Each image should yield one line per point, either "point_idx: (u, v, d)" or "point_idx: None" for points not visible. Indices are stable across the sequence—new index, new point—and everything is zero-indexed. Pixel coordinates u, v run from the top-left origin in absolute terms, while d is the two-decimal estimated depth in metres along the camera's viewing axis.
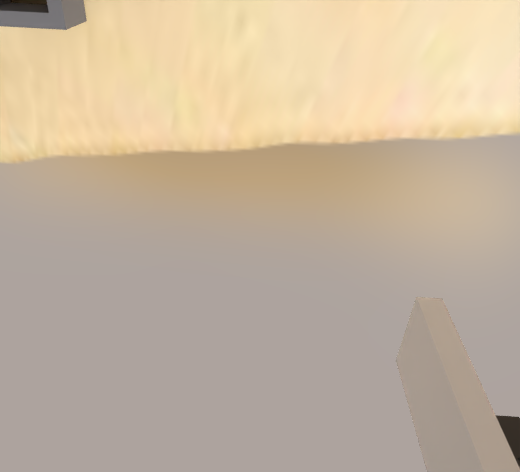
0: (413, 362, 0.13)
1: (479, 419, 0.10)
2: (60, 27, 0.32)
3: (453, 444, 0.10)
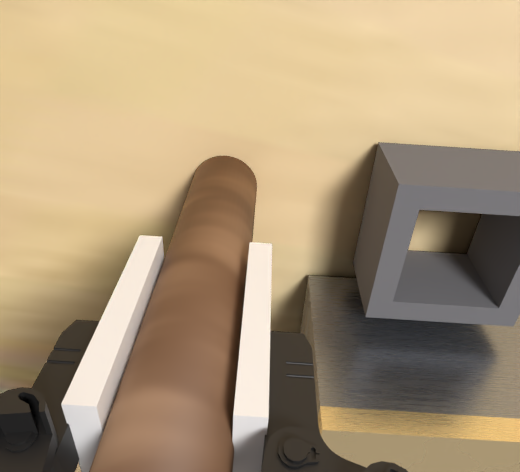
0: None
1: (254, 329, 0.12)
2: None
3: None
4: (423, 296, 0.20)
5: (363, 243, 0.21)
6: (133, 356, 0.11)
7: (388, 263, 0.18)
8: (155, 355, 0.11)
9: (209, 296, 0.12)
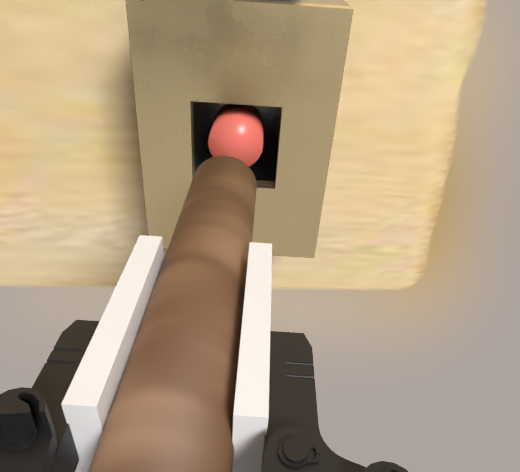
0: None
1: (254, 329, 0.12)
2: None
3: None
4: None
5: None
6: (132, 356, 0.11)
7: None
8: (154, 355, 0.11)
9: (209, 296, 0.12)
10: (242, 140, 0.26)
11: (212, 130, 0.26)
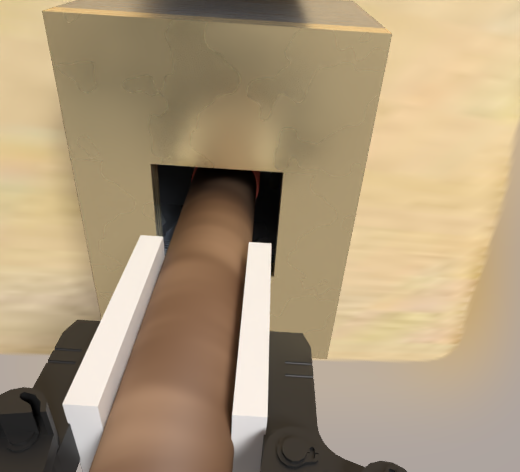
0: None
1: (253, 329, 0.12)
2: None
3: None
4: None
5: None
6: (133, 355, 0.11)
7: None
8: (155, 353, 0.11)
9: (209, 294, 0.13)
10: None
11: (196, 169, 0.21)
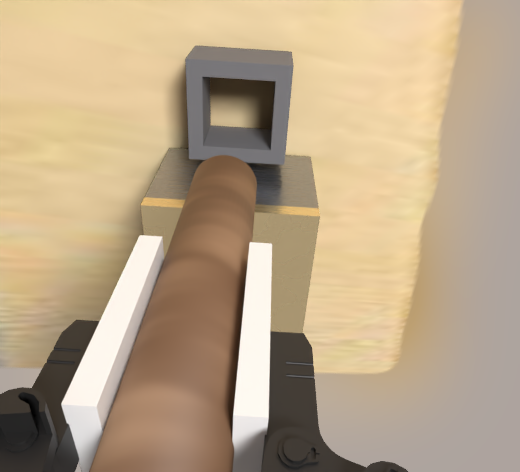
0: None
1: (254, 329, 0.12)
2: (290, 71, 0.28)
3: None
4: (225, 144, 0.31)
5: None
6: (134, 354, 0.11)
7: (193, 116, 0.29)
8: (155, 353, 0.11)
9: (209, 293, 0.13)
10: None
11: None
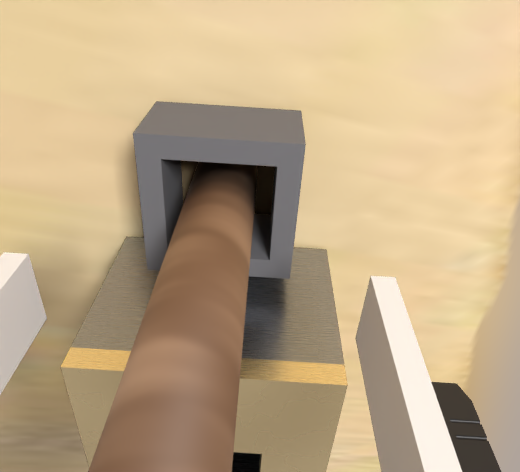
0: (367, 337, 0.14)
1: (415, 383, 0.10)
2: (301, 153, 0.17)
3: (392, 407, 0.11)
4: None
5: None
6: (147, 314, 0.12)
7: (150, 214, 0.19)
8: (167, 312, 0.12)
9: (215, 263, 0.14)
10: None
11: None
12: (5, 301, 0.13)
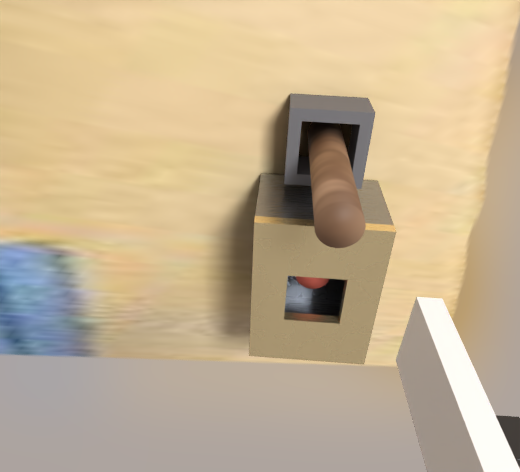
0: (413, 362, 0.13)
1: (479, 419, 0.10)
2: (372, 117, 0.35)
3: (453, 444, 0.10)
4: None
5: None
6: (318, 177, 0.30)
7: (291, 151, 0.37)
8: (329, 173, 0.30)
9: (341, 160, 0.31)
10: None
11: None
12: None
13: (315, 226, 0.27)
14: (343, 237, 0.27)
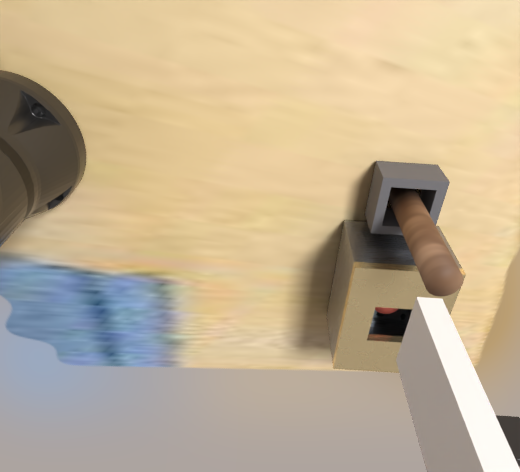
0: (413, 362, 0.13)
1: (479, 419, 0.10)
2: (447, 185, 0.45)
3: (453, 444, 0.10)
4: (394, 224, 0.48)
5: (369, 203, 0.50)
6: (417, 239, 0.40)
7: (379, 209, 0.47)
8: (427, 237, 0.39)
9: (431, 224, 0.41)
10: None
11: None
12: None
13: (426, 281, 0.37)
14: (445, 289, 0.37)
